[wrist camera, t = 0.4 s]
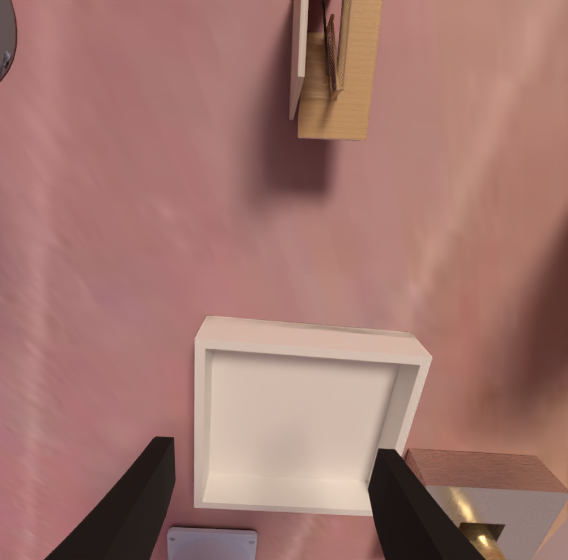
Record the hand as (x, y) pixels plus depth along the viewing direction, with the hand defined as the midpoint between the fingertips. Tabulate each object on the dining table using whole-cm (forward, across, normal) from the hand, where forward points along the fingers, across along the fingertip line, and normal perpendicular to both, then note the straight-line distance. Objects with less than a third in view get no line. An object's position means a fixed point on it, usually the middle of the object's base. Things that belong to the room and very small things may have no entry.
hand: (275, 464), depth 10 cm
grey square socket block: (+10, -17, +16) cm, 25 cm away
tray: (+10, -2, +6) cm, 12 cm away
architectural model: (+11, 0, -16) cm, 19 cm away
